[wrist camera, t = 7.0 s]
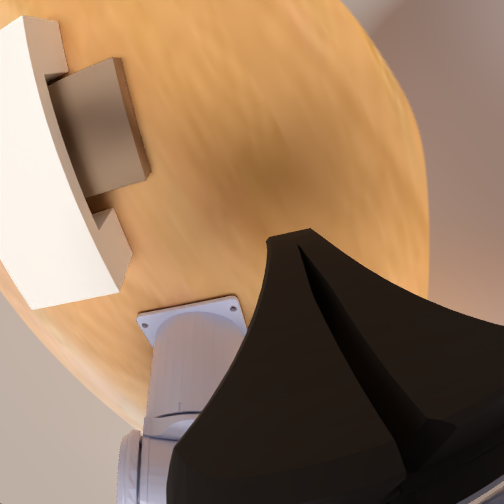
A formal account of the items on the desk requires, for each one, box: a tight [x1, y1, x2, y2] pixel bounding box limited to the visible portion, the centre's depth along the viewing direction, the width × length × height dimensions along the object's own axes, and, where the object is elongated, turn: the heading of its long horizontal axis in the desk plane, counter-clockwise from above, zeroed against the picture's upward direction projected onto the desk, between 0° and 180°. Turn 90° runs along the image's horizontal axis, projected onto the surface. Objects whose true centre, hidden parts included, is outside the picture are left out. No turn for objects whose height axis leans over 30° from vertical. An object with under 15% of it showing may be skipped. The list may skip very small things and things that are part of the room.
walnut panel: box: [47, 57, 151, 198], centre depth 15 cm, size 7×9×2 cm
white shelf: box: [0, 15, 133, 310], centre depth 14 cm, size 16×7×4 cm, turn 11°
